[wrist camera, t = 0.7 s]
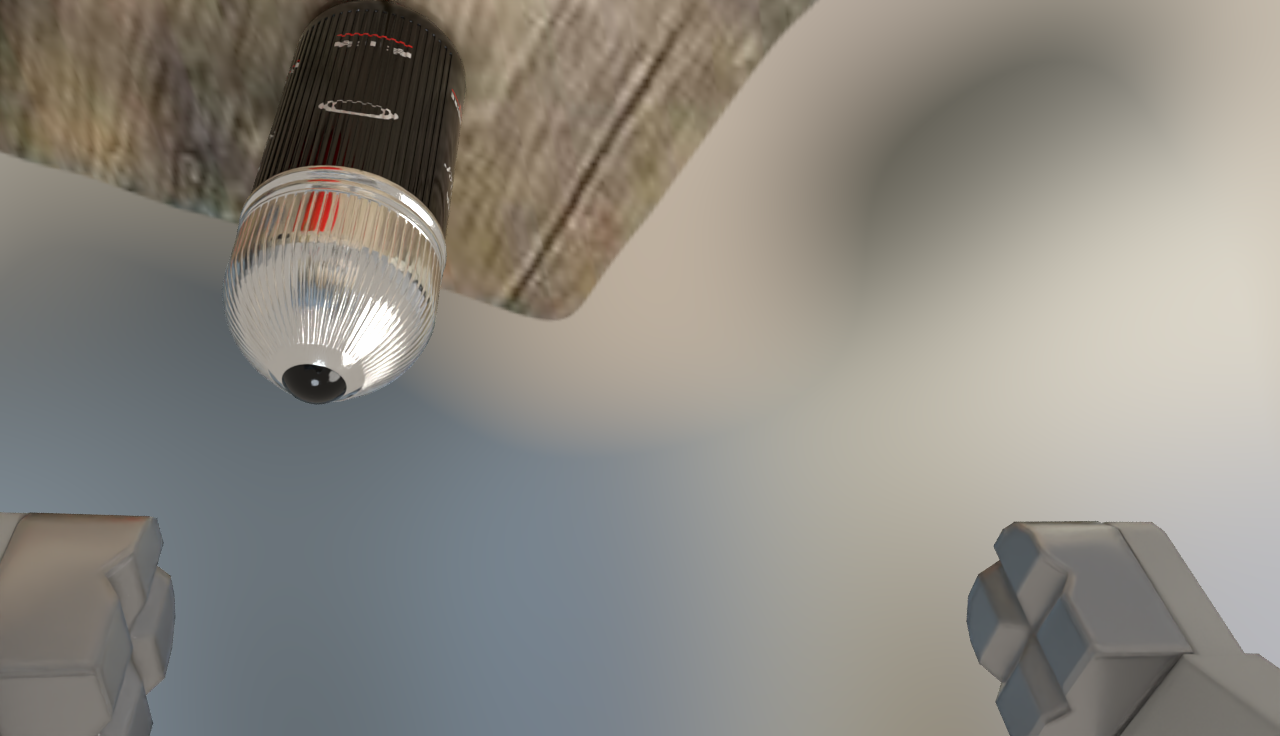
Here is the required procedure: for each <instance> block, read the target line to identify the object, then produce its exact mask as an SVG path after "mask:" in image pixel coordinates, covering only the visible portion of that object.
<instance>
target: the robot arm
mask: <svg viewBox="0 0 1280 736" xmlns="http://www.w3.org/2000/svg"><path fill="white" fill-rule="evenodd" d="M162 547H163V539H162V535H161V532H160V528H159V524H158V521H157V518H154V517H150V516H121V515H90V514H59V513H58V514H57V513H2V512H0V736H150V732H151V729H152V725H153V721H152V718H151V713H150V709H149V705H148V701H147V698H146V695H147V694H148V693H149V692H150V691H151V690H152V689H153V688H155V687H156V686H157V685H158V684H159V683H160V682H161V681H162V680H163V679H164V678H165V675H166V671H167V667H168V663H169V658H170V655H171V650H172V643H173V634H174V624H175V599H174V590H173V585H172V580H171V576H170V575H169V574H167V573H166V572H165V571H164V570H162V569H161V568H160V567H158V566H157V564H158V561H159V557H160V554H161V550H162ZM994 549H995V551H996V553H997V555H998V557H999V561H998V562H996V563H995V564H993V565H992V566H990V567H989V568H987V569H986V570H984V571H983V572H981V573H980V574H978V576H977V578H976V580H975V583H974V585H973V587H972V589H971V591H970V593H969V596H968V607H967V625H968V631H969V636H970V641H971V644H972V647H973V649H974V652H975V654H976V656H977V659H978V662H979V664H980V665H982V666H983V667H984V668H985V669H986V670H988V671H989V672H990V673H991V674H992V675H993V676H995V677H996V678H997V679H998V680H999V681H1000V682H1001V685H1000V688H999V692H998V695H997V699H996V704H997V707H998V709H999V711H1000V714H1001V716H1002V718H1003V721H1004V723H1005V725H1006V728H1007V730H1008V732H1009V735H1010V736H1280V669H1279V668H1278V667H1276V666H1275V665H1274V664H1272V663H1271V662H1269V661H1268V660H1267V659H1265V658H1264V657H1262V656H1261V655H1260V654H1252V653H1251V654H1250V653H1244V652H1243V650H1242V649H1241V647H1240V646H1239V644H1238V642H1237V641H1236V640H1235V638H1234V637H1233V635H1232V633H1231V632H1230V630H1229V629H1228V627H1227V626H1226V624H1225V623H1224V621H1223V620H1222V618H1221V617H1220V615H1219V613H1218V612H1217V610H1216V609H1215V607H1214V606H1213V604H1212V603H1211V601H1210V600H1209V598H1208V597H1207V595H1206V594H1205V592H1204V591H1203V589H1202V588H1201V586H1200V585H1199V583H1198V581H1197V580H1196V579H1195V577H1194V576H1193V574H1192V573H1191V571H1190V569H1189V568H1188V566H1187V565H1186V563H1185V562H1184V560H1183V559H1182V557H1181V556H1180V554H1179V553H1178V551H1177V549H1176V548H1175V546H1174V545H1173V543H1172V542H1171V540H1170V539H1169V537H1168V536H1167V534H1166V533H1165V532H1164V531H1163V530H1162V529H1161V528H1159V527H1158V526H1156V525H1155V524H1154V523H1152V522H1104V523H1101V522H1098V521H1074V522H1073V521H1072V522H1071V521H1069V522H1067V521H1064V522H1013V523H1012V524H1010V525H1009V526H1007V527H1006V528H1004V529H1003V530H1002V532H1001V534H1000V535H999V537H998V539H997V541H996V542H995V544H994Z"/></svg>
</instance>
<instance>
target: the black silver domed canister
mask: <svg viewBox="0 0 1280 736" xmlns="http://www.w3.org/2000/svg"><path fill="white" fill-rule="evenodd" d="M465 92H466V81H465V73H464V68H463V64H462V61H461V59H460V56H459V54H458V52H457V50H456V49H455V47H454V45H453V44H452V42H451V41H450V40H449V39H448V37H447V36H446V35H445V34H444V33H443V32H442V31H441V30H440V29H439V28H438V27H437V26H436V25H435V24H434V23H433V22H431V21H430V20H429V19H427V18H426V17H424V16H423V15H421V14H419V13H418V12H416V11H414V10H412V9H410V8H407V7H405V6H402V5H399V4H396V3H392V2H387V1H381V0H356V1H350V2H346V3H342V4H339V5H337V6H334V7H332V8H330V9H327V10H326V11H324V12H322V13H321V14H320V15H318V16H317V17H316V18H315V19H314V20H313V21H312V22H311V23H310V24H309V25H308V26H307V28H306V29H305V31H304V32H303V34H302V36H301V37H300V39H299V42H298V44H297V47H296V51H295V54H294V57H293V60H292V63H291V67H290V70H289V73H288V76H287V80H286V83H285V86H284V89H283V92H282V96H281V99H280V102H279V105H278V108H277V112H276V115H275V118H274V121H273V125H272V128H271V131H270V134H269V137H268V141H267V144H266V147H265V150H264V153H263V157H262V160H261V163H260V166H259V170H258V173H257V176H256V179H255V182H254V186H253V189H252V192H251V194H250V196H249V197H248V199H247V200H246V202H245V204H244V206H243V209H242V211H241V215H240V219H239V226H238V230H237V236H236V241H235V244H234V247H233V250H232V253H231V257H230V260H229V263H228V266H227V269H226V272H225V276H224V281H223V288H222V296H223V297H222V298H223V306H224V312H225V316H226V321H227V324H228V327H229V329H230V332H231V334H232V337H233V338H234V340H235V342H236V344H237V346H238V347H239V349H240V350H241V352H242V353H243V355H244V356H245V357H246V359H247V360H248V361H249V362H250V363H251V365H252V366H253V367H254V368H255V369H256V370H257V371H258V372H259V373H260V374H261V375H262V376H264V377H265V378H266V379H268V380H269V381H270V382H272V383H273V384H275V385H276V386H278V387H279V388H281V389H282V390H284V391H285V392H288V393H289V394H292V395H293V396H294V397H295V398H297V399H299V400H300V401H303V402H306V403H310V404H325V403H329V402H337V401H343V400H348V399H353V398H357V397H360V396H364V395H367V394H369V393H372V392H374V391H376V390H378V389H380V388H382V387H384V386H386V385H388V384H389V383H391V382H392V381H394V380H395V379H397V378H398V377H399V376H401V375H402V374H403V373H404V372H405V371H407V370H408V369H409V368H410V367H411V366H412V365H413V363H414V362H415V361H416V360H417V358H418V357H419V356H420V354H421V353H422V352H423V350H424V348H425V347H426V345H427V344H428V342H429V340H430V337H431V335H432V333H433V329H434V326H435V320H436V313H437V305H438V297H439V291H440V285H441V280H442V277H443V272H444V269H445V265H446V259H447V248H446V241H445V240H446V232H447V225H448V218H449V210H450V203H451V196H452V188H453V181H454V173H455V166H456V159H457V151H458V144H459V136H460V129H461V122H462V114H463V107H464V99H465Z"/></svg>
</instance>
